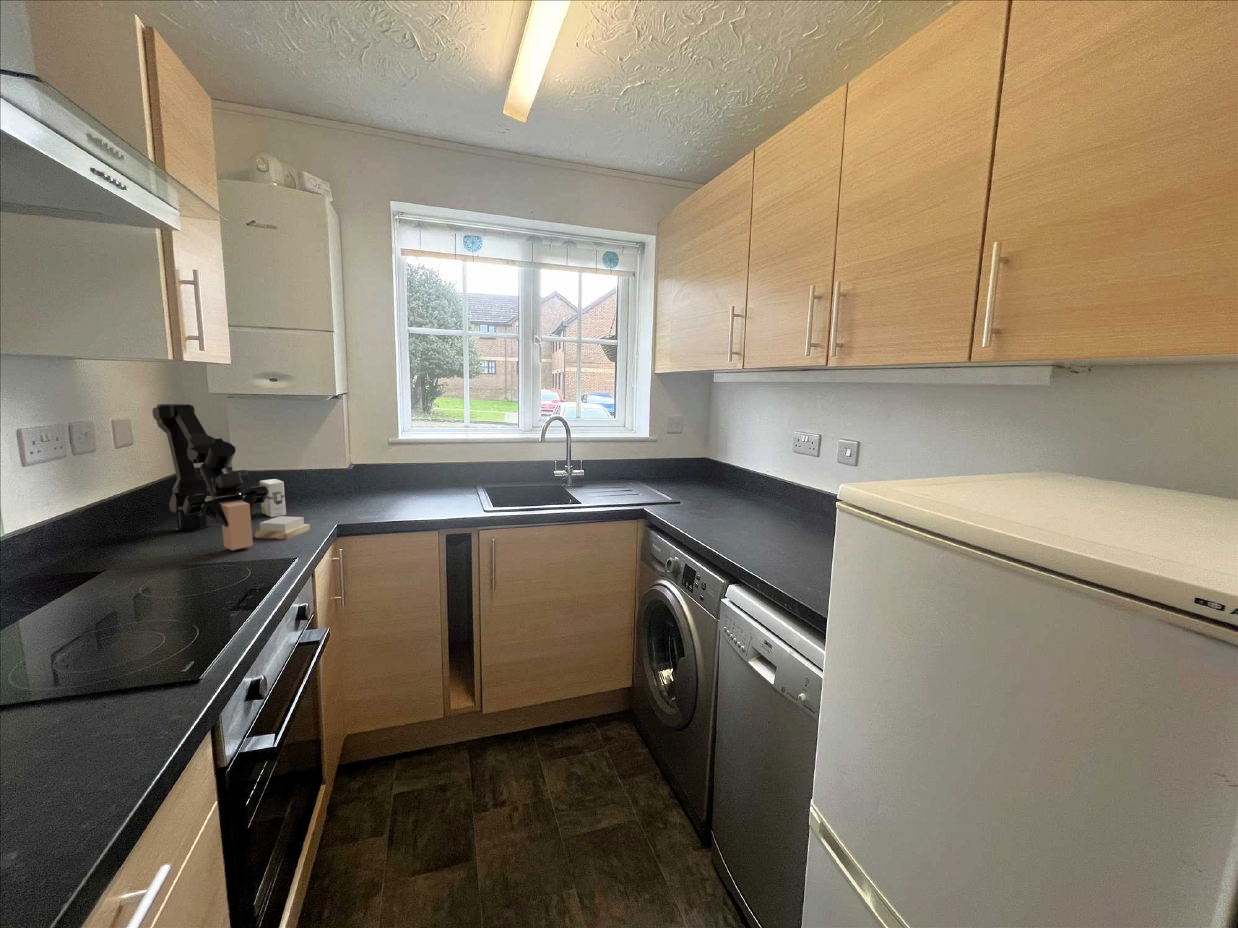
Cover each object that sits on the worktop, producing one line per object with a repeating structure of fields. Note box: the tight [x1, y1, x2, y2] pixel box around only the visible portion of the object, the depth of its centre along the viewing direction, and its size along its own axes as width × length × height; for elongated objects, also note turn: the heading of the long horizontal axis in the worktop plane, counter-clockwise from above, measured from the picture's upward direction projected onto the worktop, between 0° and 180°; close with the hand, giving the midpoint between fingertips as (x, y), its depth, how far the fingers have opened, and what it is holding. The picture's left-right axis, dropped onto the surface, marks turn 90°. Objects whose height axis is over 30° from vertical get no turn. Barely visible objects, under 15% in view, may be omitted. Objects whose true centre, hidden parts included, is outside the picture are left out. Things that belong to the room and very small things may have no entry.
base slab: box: [254, 523, 311, 540], centre depth 157 cm, size 10×10×2 cm
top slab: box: [259, 515, 305, 532], centre depth 157 cm, size 8×8×2 cm
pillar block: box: [219, 501, 254, 551], centre depth 141 cm, size 5×5×12 cm
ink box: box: [259, 478, 287, 518], centre depth 178 cm, size 9×5×12 cm, turn 53°
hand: (238, 523), depth 140 cm, fingers closed on pillar block, 5 cm apart
